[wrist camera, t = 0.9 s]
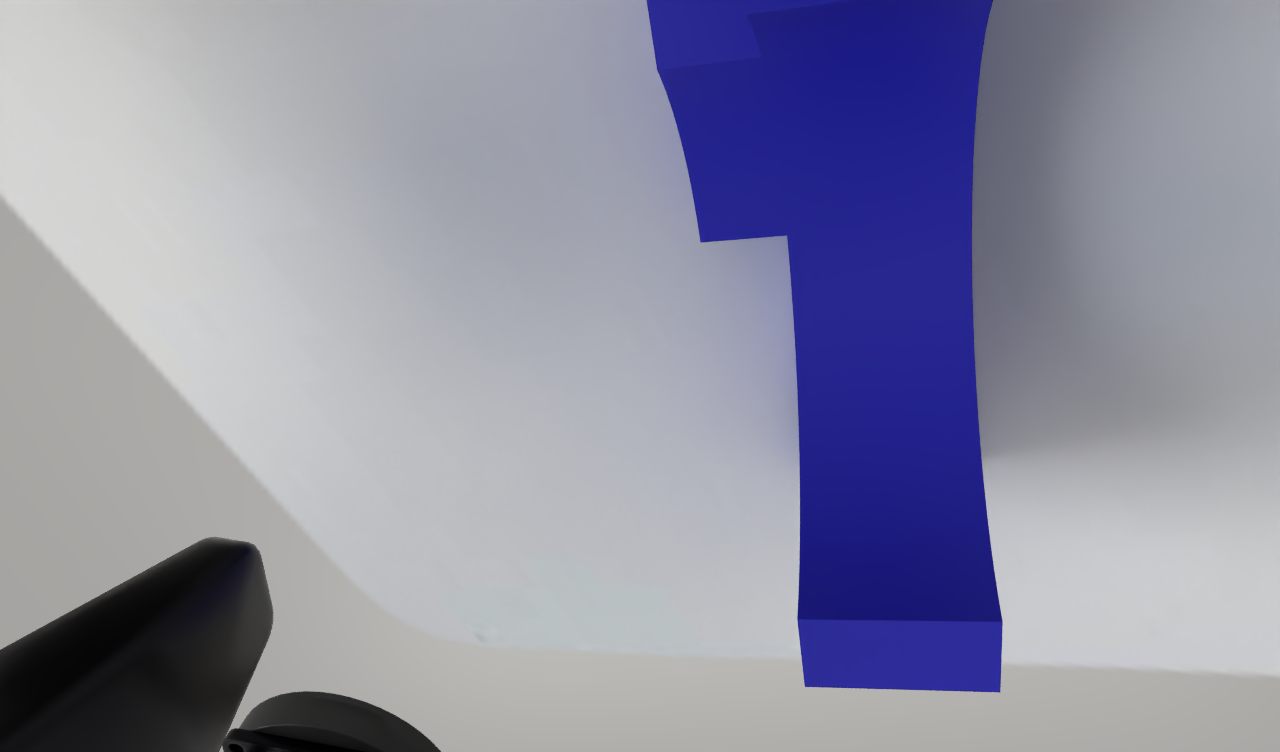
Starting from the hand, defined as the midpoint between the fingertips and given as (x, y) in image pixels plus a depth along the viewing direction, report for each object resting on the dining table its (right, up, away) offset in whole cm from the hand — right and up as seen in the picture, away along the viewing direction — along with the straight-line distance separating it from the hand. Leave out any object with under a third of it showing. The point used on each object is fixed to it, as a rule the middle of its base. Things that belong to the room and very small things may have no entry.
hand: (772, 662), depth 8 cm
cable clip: (+2, +6, +10) cm, 12 cm away
